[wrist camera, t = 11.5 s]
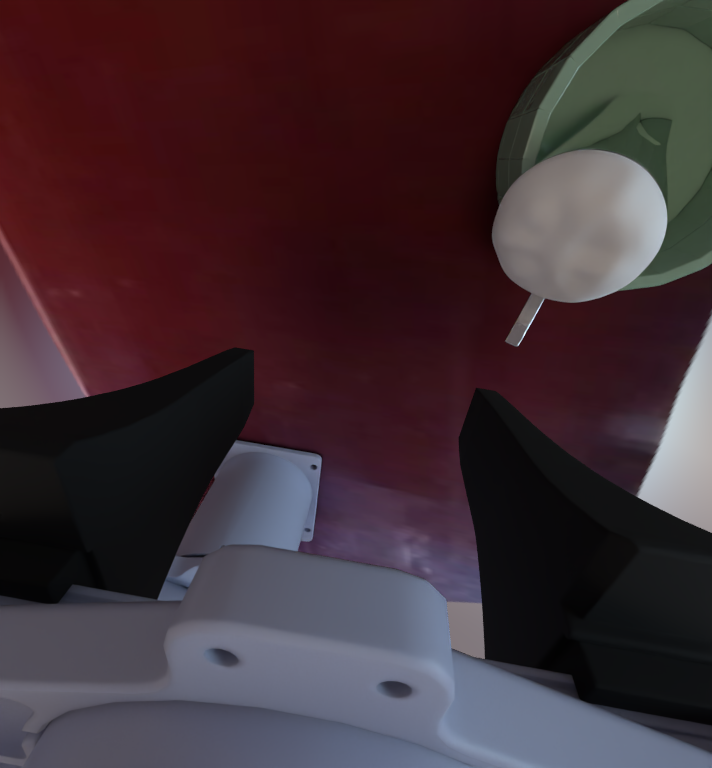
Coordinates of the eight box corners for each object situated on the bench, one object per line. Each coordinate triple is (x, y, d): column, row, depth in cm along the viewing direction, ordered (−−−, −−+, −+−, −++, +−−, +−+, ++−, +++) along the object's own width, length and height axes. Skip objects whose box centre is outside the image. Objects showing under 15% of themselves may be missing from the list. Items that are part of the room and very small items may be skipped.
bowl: (654, 277, 19) (717, 307, 15) (470, 248, 19) (487, 270, 16) (787, 32, 14) (928, -15, 11) (540, -4, 15) (590, -63, 11)
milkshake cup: (540, 197, 19) (449, 317, 14) (599, 56, 14) (495, 159, 9) (639, 228, 17) (577, 375, 12) (739, 82, 13) (702, 220, 8)
